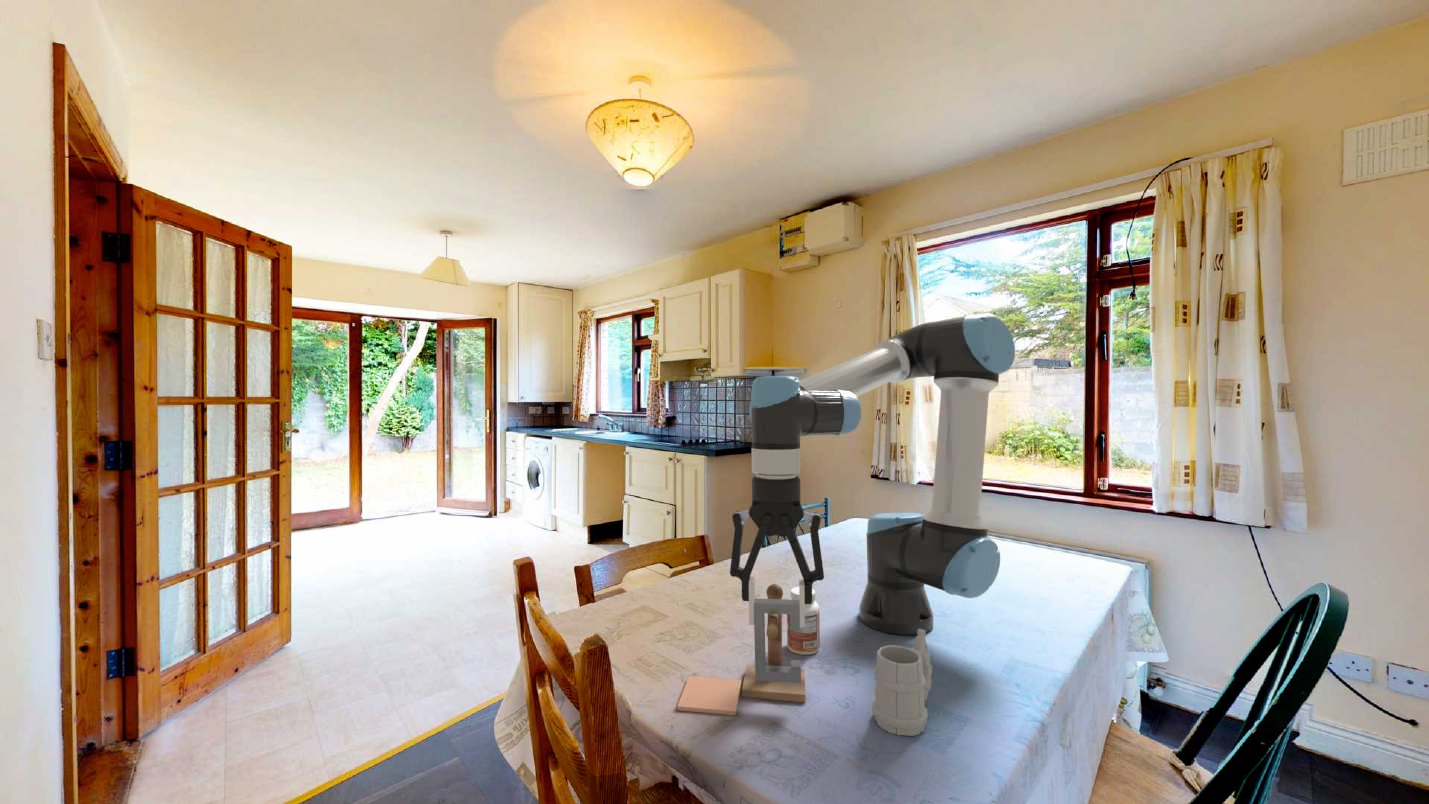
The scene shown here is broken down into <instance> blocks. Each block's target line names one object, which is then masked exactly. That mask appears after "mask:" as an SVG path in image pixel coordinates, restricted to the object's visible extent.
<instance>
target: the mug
mask: <svg viewBox="0 0 1429 804" xmlns="http://www.w3.org/2000/svg"><path fill="white" fill-rule="evenodd" d="M917 633H918V634H917V635H916V637H915V638H914V645H913V647H912V648H909V647H906V646H902V645H895V644H894V645H893V644H891V645H890V644H889V645H884V646H881V647H880V648H879V649H878V650H877V651H876V662H875V663H876V664H875V665H876V666H875V667H874V669H873V676H874V680H875V689H874V691H875V692H874V699H873V700H872V703H871V704H872V711H873V714H874V720H875V721H876V724H877V725H878V726H879V727H880V728H881V729H882V730H884V731H886V732H888V733H890V734H892V735H897V736H907V737H913V736H918V735H920V734H921V733H923V732H924V731H925V727H926V724H927V722H928V717H929V715H928V710H927V708H926V706H925V701H927V698H928V694H929V691H931V688H932V687H931V685H932V678H931V676H932V674H933V666H932V664H931V661H930V659H931V656H930V654H929V648H928V644H927V641H926V633H927V632H926V631H925V630H922V629H918V631H917Z"/></svg>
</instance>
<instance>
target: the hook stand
mask: <svg viewBox="0 0 1429 804" xmlns="http://www.w3.org/2000/svg"><path fill="white" fill-rule="evenodd" d="M766 596H767V599H783V596H784V591H783V588H782V586H780V585H779V584H776V583H772V584H770V585H769V586H768V587H767V589H766ZM766 625H767V626H766V627H767V628H766V631H765V635H766V637H767V665H770V666H783V614H771V613H767V624H766ZM805 671H806V670H805V668H801V683H784V682H766V681H755V665H752V664H751V665H750V664H746V667H745V672H744V678H743V682H742V687H741V698H745V699H761V700H769V701H770V700H773V701H784V702H796V703H797V702H798V703H806V700H807V698H806V695H807V694H806V672H805Z"/></svg>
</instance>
